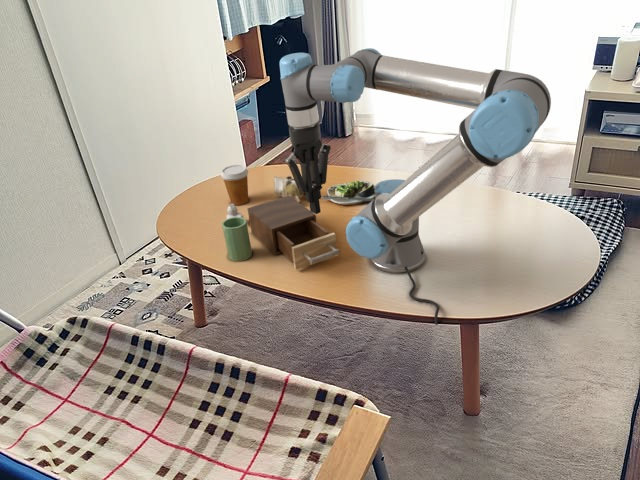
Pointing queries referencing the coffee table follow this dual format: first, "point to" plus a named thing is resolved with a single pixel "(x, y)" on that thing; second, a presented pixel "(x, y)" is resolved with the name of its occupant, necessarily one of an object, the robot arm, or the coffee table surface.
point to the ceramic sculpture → (287, 188)
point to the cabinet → (276, 219)
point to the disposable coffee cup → (236, 183)
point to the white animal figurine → (233, 212)
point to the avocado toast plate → (351, 193)
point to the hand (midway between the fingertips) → (315, 211)
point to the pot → (237, 238)
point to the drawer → (306, 243)
